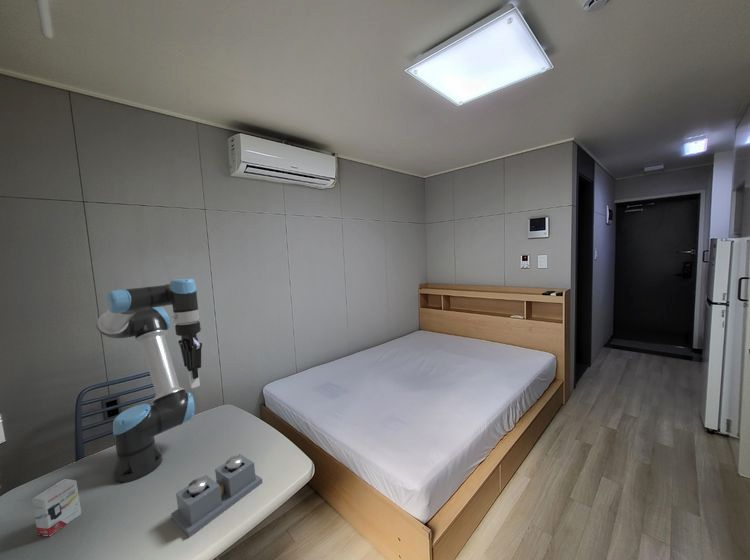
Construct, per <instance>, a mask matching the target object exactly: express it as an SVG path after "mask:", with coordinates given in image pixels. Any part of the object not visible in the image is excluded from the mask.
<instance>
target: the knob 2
mask: <svg viewBox="0 0 750 560" xmlns="http://www.w3.org/2000/svg"><path fill="white" fill-rule="evenodd" d="M225 463H226V467H227V470H228V471H229V472H231V473H233V472H234V471H236V470H237V469H239V468H240V467H241V466H242V464H243V463H242V457H241V456H239V454H237V455H234V456H231V457H229V458H228V459H227V460H226V461H225Z"/></svg>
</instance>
